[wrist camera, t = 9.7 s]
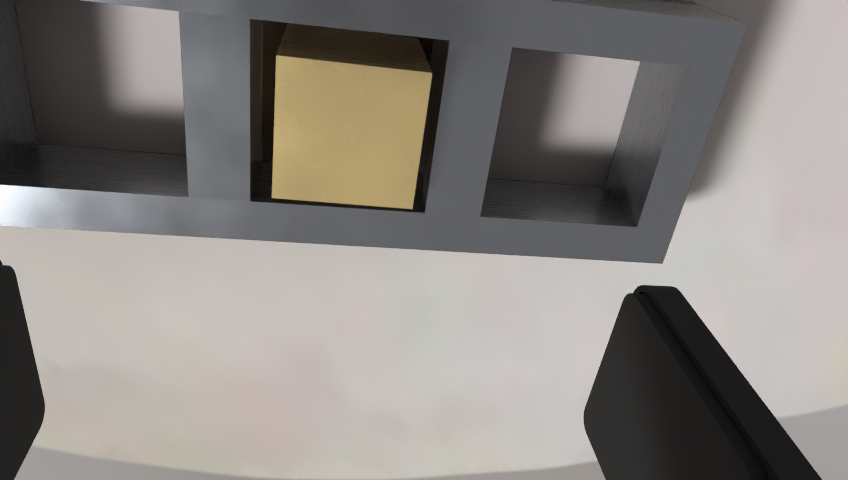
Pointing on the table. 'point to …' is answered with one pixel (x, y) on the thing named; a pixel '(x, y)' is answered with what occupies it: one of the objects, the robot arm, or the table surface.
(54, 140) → the table surface
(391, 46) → the tan wooden cube
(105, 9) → the table surface
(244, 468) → the table surface
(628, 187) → the frame with square openings
